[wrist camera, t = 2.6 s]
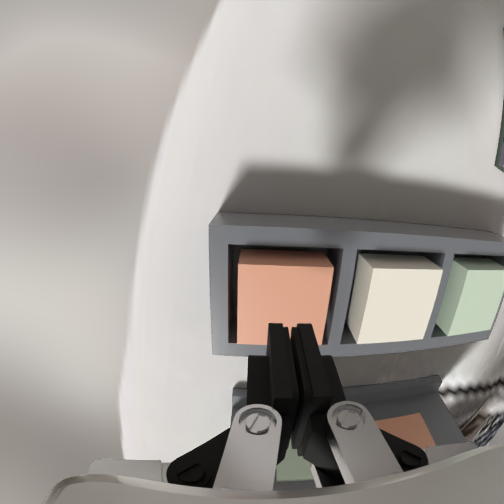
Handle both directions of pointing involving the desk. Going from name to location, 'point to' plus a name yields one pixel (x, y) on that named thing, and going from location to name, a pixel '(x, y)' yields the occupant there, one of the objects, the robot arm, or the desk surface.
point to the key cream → (392, 297)
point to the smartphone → (501, 146)
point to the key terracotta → (281, 292)
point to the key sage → (471, 296)
